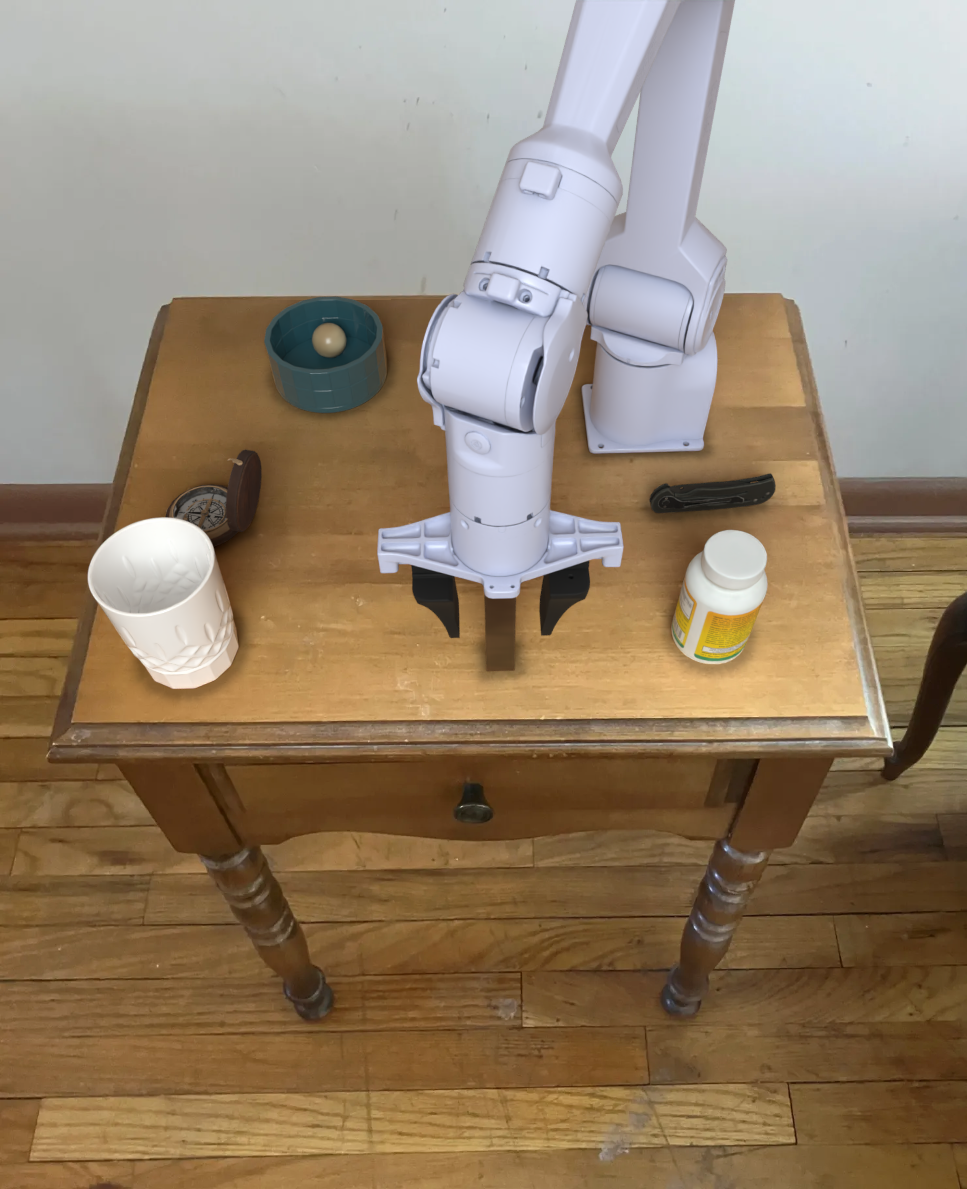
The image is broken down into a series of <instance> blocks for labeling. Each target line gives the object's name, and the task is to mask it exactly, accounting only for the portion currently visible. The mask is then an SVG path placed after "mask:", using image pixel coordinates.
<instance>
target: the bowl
mask: <svg viewBox="0 0 967 1189" xmlns="http://www.w3.org/2000/svg"><path fill="white" fill-rule="evenodd" d="M324 323H333V324H336V325H338V326H339V327H340V328H341V329H342V330H343V331H344V333H345V335H346V347H345V349H344V351H343V352H342V353H341V354H340V355H338V356H336V357H333V358H327V357H323V356H321V355H320V354H318V353H317V352H316V350H315V349H314V347H313V344H312V336H313V333H314V331H315V329H316V328H317V327H318V326H319V325H321V324H324ZM383 326H384V325H383V323H382V321H381V319H380V317H379V315H378V314H377V313H376V312H375V310H373V309H372V308H371V307H369V306H368V305H367V304H364V303H362V302H360V301H358V300H355V299H354V298H347V297H342V296H337V295H335V296H316V297H312V298H307V299H303V300H300V301H298V302H295V303H294V304H293V303H292V304H291V305H288V306H287V307H285V308H283V309H282V310H281V311H279V312H278V313H277V314H276V315H275V316H274V317H272V319H271V321H270V322H269V324H268V325H267V326H266V328H265V334H264V341H263V343H264V347H265V351H266V355H267V359H268V364H269V367H270V371H271V372H270V373H271V376H272V379H273V382H274V386H275V388H276V391H277V392H278V394H279V396H280V397H281V398H282V399H283V400H284V401H285V402H287V403H288V404H290V405H291V406H292V407H295V408H297V409H299V410H302V411H306V412H311V413H316V414H317V413H318V414H333V413H340V412H345V411H349V410H352V409H354V408H357V407H360V406H362V405H363V404H365V403H367V402H369V401H370V400H371V399H372V398H374V397H375V396H376V395H377V394H378V393H379V392H380V390H381V389H382V388H383V386H384V384H385V383H386V380H387V376H388V360H387V351H386V343H385V334H384V327H383Z"/></svg>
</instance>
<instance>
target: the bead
mask: <svg viewBox="0 0 967 1189" xmlns="http://www.w3.org/2000/svg"><path fill="white" fill-rule="evenodd" d="M312 344H313V347H314V349H315V350H316V352H317V353H318V354H320V355H321V356H323V357H327V358H333V357H336V356H338V355H340V354H341V353H342V352H343V351H344V349H345V347H346V335H345V333H344V331H343V330H342V329H341V328H340V327H339V326H338V325H336V324H333V323H324V324H321V325H319V326H318V327H317V328H316V329H315V331H314V333H313V336H312Z"/></svg>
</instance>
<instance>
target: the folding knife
mask: <svg viewBox="0 0 967 1189" xmlns="http://www.w3.org/2000/svg"><path fill="white" fill-rule="evenodd" d="M776 486H777V484H776V481H775V478H774V476H773V474H772V473H771V472H770V473H765V474H761V475H758V476H753V477H747V478H740V479H734V480H725V481H710V482H709V481H708V482H707V481H706V482H696V483H695V482H694V483H685V484H675V485H670V484H669V483H667V482H665V483H662V484H659V485H658V486H657V487H656V488H654V489H653V491H652V492H651V494H650V495H649V504H650V508H651V510H652V511H653V513H655V514H667V513H669V514H670V513H672V514H673V513H688V512H699V511H700V512H701V511H711V510H712V511H715V510H725V509H734V508H742V507H743V508H744V507H752V506H756V505H757V506H758V505H761V504H764V503H765V502H767V501H769V500H770V499H771V498H772V497H773V496H774V495H775V492H776Z"/></svg>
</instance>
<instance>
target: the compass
mask: <svg viewBox="0 0 967 1189" xmlns="http://www.w3.org/2000/svg"><path fill="white" fill-rule="evenodd" d="M229 461H231V462H232V463H233V466H232V469H231V472H230V475H229V479H228V484H227V486H225V485H222V484H213V483H209V484H200V485H197V486H194V487H191V488H188V489H187V490H185V491H183V492H181V493H179V495H178V496H176V497H175V498H174V499H173V500H172V501H171V503H170V504H169V506H168V507H167V508H166V510H165V516H164V517H168V518H177V519H181V520H185V521H188V522H190V523H192V524H194V525H196V526H198V527H199V528H200V529H202V530H203V531H204V532H205V533H206V535H207V536H208V537H209V539H210V540H211V542H212V545H213V548H214V547H216V546H219V545H222V544H224V543H226V542H228V541H229V540H231V539H233V538H234V537H235V536H236V535H237V534H238V533H239V532H241V533H243V532H245V531H246V530H247V529H248V528H249V527H250V525H251V524H252V521H253V519H254V517H255V516H256V511H257V508H258V504H259V500H260V495H261V489H262V488H261V487H262V477H263V475H262V468H263V467H262V461H261V458H260V456H259V454H258V452H257V451H255V450H251V449H243V450H241V451H240V452H239V453H238V454H237V457H236V458H228V459H227V462H229Z"/></svg>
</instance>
